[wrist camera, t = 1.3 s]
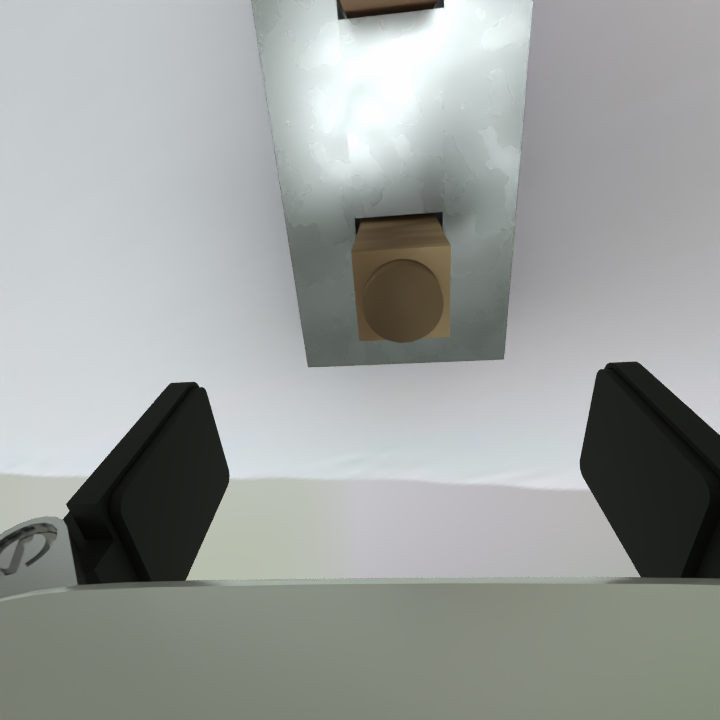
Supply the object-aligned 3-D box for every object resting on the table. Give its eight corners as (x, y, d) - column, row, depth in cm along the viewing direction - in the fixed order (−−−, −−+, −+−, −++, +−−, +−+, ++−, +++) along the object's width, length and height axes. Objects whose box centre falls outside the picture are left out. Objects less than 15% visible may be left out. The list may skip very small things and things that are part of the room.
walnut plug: (430, 206, 26) (454, 252, 16) (431, 271, 28) (452, 349, 18) (364, 211, 26) (348, 260, 17) (369, 275, 28) (357, 353, 18)
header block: (520, -232, 19) (561, -345, 14) (487, 326, 31) (503, 359, 26) (248, -187, 20) (208, -278, 15) (319, 334, 32) (308, 367, 27)
